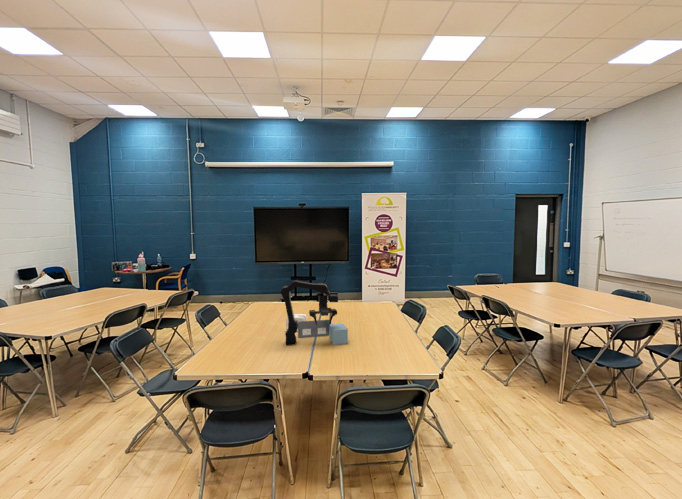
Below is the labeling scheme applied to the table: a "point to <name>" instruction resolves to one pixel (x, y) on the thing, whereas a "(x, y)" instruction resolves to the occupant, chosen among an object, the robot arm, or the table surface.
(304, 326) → the dark grey case
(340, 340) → the pale blue box
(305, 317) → the cable organizer
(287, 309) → the robot arm
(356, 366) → the table surface
